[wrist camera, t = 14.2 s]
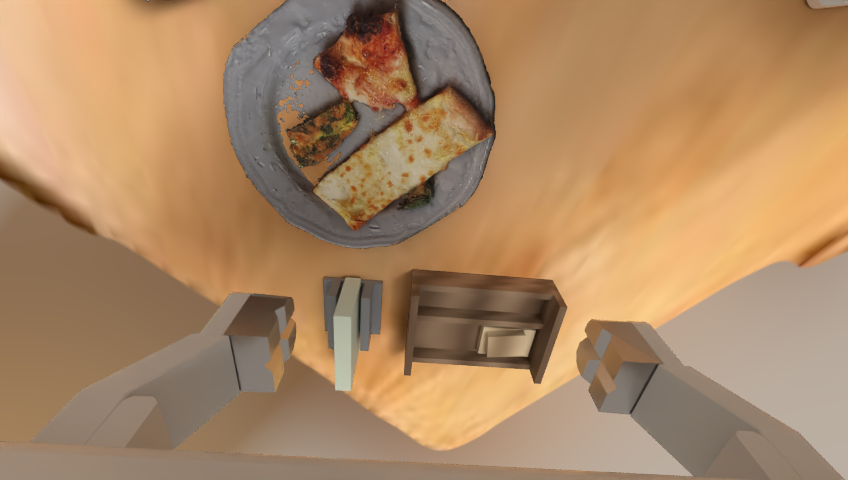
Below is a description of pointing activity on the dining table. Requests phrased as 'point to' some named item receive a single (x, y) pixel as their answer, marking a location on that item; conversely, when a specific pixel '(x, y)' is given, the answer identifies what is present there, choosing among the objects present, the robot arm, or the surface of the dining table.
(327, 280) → the stand
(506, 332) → the offcut upper
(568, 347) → the dining table surface
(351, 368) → the board
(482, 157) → the food plate
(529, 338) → the offcut lower
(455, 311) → the rack
